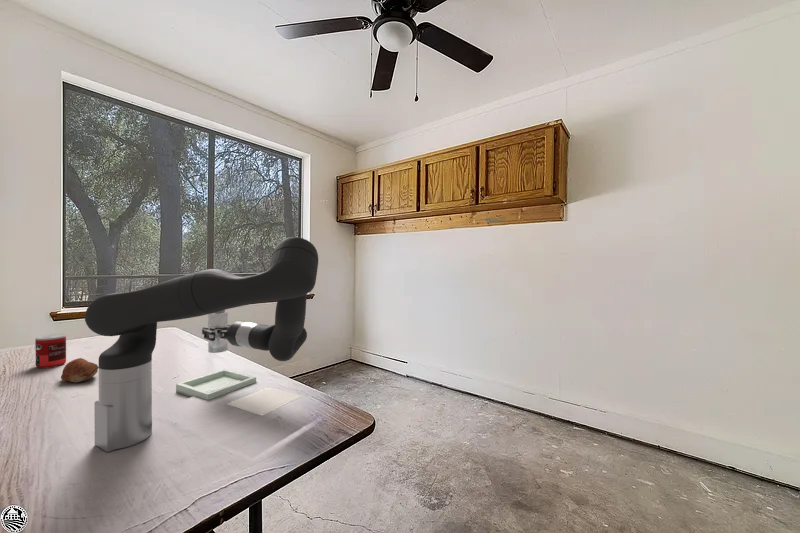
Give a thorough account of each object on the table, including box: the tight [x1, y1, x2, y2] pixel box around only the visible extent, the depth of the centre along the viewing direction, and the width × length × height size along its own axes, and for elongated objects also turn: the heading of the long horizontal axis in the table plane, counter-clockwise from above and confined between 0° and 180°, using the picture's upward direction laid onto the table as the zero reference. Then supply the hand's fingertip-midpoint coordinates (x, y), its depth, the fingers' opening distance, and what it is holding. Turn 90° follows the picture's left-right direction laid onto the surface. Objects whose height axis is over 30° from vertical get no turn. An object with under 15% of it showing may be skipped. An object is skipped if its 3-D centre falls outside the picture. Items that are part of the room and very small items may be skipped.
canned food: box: [34, 333, 67, 369], centre depth 123 cm, size 8×8×11 cm
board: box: [227, 386, 302, 417], centre depth 94 cm, size 14×14×1 cm
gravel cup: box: [207, 310, 229, 354], centre depth 103 cm, size 5×5×13 cm
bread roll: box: [60, 357, 99, 383], centre depth 110 cm, size 13×8×10 cm
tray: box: [175, 368, 257, 401], centre depth 104 cm, size 16×16×2 cm
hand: (213, 328), depth 105 cm, fingers closed on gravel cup, 5 cm apart
